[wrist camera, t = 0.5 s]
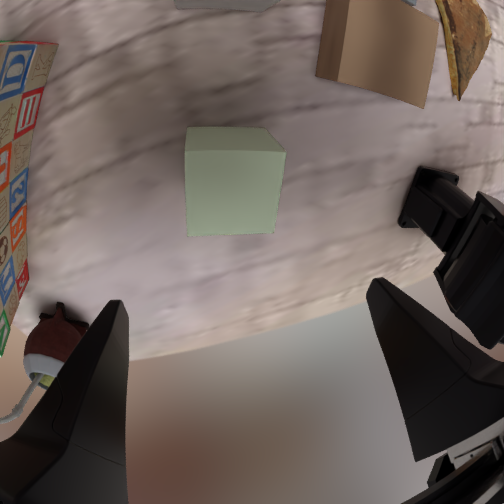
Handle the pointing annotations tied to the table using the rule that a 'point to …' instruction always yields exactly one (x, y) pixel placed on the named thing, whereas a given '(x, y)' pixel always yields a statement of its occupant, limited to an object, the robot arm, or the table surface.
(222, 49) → the table surface
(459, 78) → the shard
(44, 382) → the mate gourd
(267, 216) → the sage cube
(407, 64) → the walnut block
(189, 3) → the grey cube
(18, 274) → the stack of blocks
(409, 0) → the card
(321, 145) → the table surface
